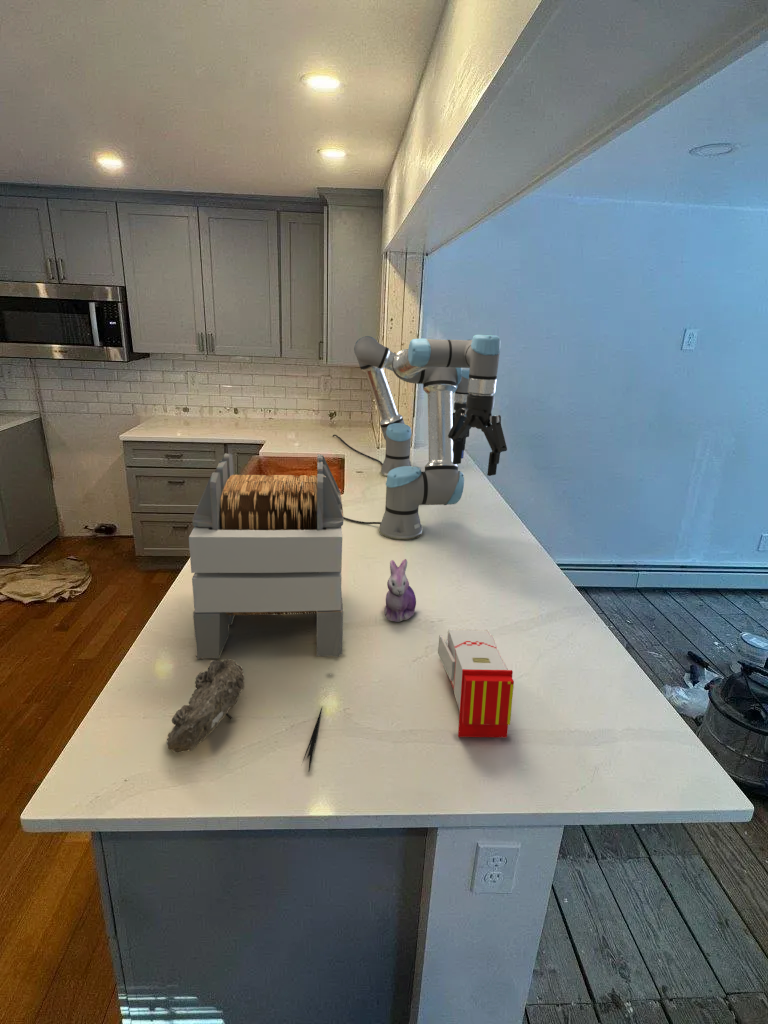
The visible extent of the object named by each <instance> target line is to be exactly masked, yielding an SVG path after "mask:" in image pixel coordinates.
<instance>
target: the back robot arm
mask: <svg viewBox="0 0 768 1024" xmlns="http://www.w3.org/2000/svg"><path fill="white" fill-rule="evenodd" d="M353 351H354V355H355V357H356V359H357V363H358V365H359V368H360V371H362V372H364V374H365V376H366V379H367V382H368V385H369V388H370V390H371V393H372V396H373V399H374V402H375V405H376V407H377V410H378V413H379V417H380V422H379V426H380V429H381V433H382V436H383V439H384V440H385V457H384V460H383V462H382V461H380V460H379V459H378V458H375V457H372V456H370V455H367V454H365V453H363V452H361V451H359V450H358V449H356V448H353V446H351V445H349V444H348V443H346V442H345V441H344V440H343V438H341V437H340V436H339V435H337V434H332V438H334V437H336V438H337V439H339V440H340V441H341V442H342V443H343V444H344V445H345V446H347V447H348V448H349V449H351V450H352V451H354V452H356V453H358V454H360V455H361V456H363V457H366V458H369V459H370V460H373V461H376V462H378V463H379V464H380V465H381V467H380V475H382V476H384V477H386V478H387V474H388V473H389V471H390V470H392V469H394V468H397V467H402V466H412V463H411V460H410V459H411V457H410V456H411V443H412V428H411V426H410V425H408V424H406V423H405V420H404V416H403V415H401V414H400V413H399V412H398V410H397V406H396V403H395V400H394V397H393V394H392V391H391V388H390V385H389V383H388V378H387V376H386V373H385V370H384V369H386V370H389V371H390V372H393V370H392V360H393V358H394V356H395V355H396V354H397V353H396V352H393V351H391V350H390V348H389V347H387V346H385V345H383V344H381V343H380V342H378V341H377V339H375V338H374V337H373V336H369V335H367V336H361V337H360V338H358V339H357V341H356V342H355V343H354V347H353ZM469 370H470V369H466V368H462V374H461V381H460V383H459V384H457V385H456V389H455V391H454V392H453V393H452V395H453V394H454V398H453V399H454V402H453V410H454V411H455V412H452V415H453V424H454V422H455V420H456V418H457V416H458V410H459V409H460V408H467V407H466V402H467V395H468V394H469V392H468V391H467V390H468V381H469ZM467 409H468V408H467ZM467 419H468V418H467V416H466V418H465V420H464V422H465V421H466V420H467ZM464 422H463V424H462V426H463V425H464ZM462 426H461V427H462ZM469 437H470V430H469V431H468V432H467V433H466V434H465V436H464V437H463V438H462V439H461V441H462V442H463V445H462V450H464V451H466V450H465V449H466V442H467V438H469Z"/></svg>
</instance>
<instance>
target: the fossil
mask: <svg viewBox="0 0 768 1024" xmlns="http://www.w3.org/2000/svg"><path fill="white" fill-rule="evenodd" d="M243 670H244V669H243V667H242V665H240V664H237V662H236V661H235V660H234V659H232V658H231V659H227V658H226V659H224V660H223V661H222V660H217V659H212V660H211V661H210V663H209V665H208V666H207V671H201V672H199V673H198V674H197V675H196V676H195V680H194V684H195V685H194V687H195V689H194V690H193V693H192V694H191V697H190V698H189V700H188V704H184V705H182V706H181V707H180V709H177V710H176V711H175V713H174V715H173V716H172V718H171V723H172V724H173V727H172V730H171V731H170V732H168V734H167V738H166V741H167V742H166V745H167V749H168V750H169V751H173V752H174V753H176V754H178V753H182V752H188V751H189V752H192V751H193V750H195V748H196V747H197V746H199V744H200V743H201V742H203V741H204V740H205V739H206V738H207V737H208V736H209V735H210V734H211V733H212V732H214V730H215V729H217V727H218V726H219V724H220V722H221V721H222V720H223V719H224V718H225V716H226V717H227V719H229V720H233V717H232V715H230V714H229V710H230V709H231V708H234V706H235V704H236V703H237V702H238V699H239V697H240V695H241V693H242V691H243V690H245V689H244V688H245V675H244V671H243Z"/></svg>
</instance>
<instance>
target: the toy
mask: <svg viewBox="0 0 768 1024" xmlns="http://www.w3.org/2000/svg"><path fill="white" fill-rule="evenodd" d="M446 640H447V643H446V641H445V639H444V636H443V635H442V634H439V637H438V646H437V656H438V657H439V659H440V661H441V663H442V666H443V668H444V670H445V672H446V674H447V677H448V679H449V681H450V684H451V687H452V690H453V693H454V697H455V701H456V705H457V708H458V711H459V714H458V715H459V716H458V730H457V731H458V732H457V737H458V738H508V731H509V726H510V725H511V717H512V707H513V697H514V696H513V695H514V684H515V680H514V679H513V673H514V671H513V670H512V669H508V667H507V665H506V662H505V661H504V659H503V658H502V655H501V653H500V651H499V649H498V647H497V643H496V639H495V637H494V635H493V634H491V632H490V631H489V629H467V628H466V629H465V628H463V629H461V628H460V629H459V628H448V630H447V639H446Z"/></svg>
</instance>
